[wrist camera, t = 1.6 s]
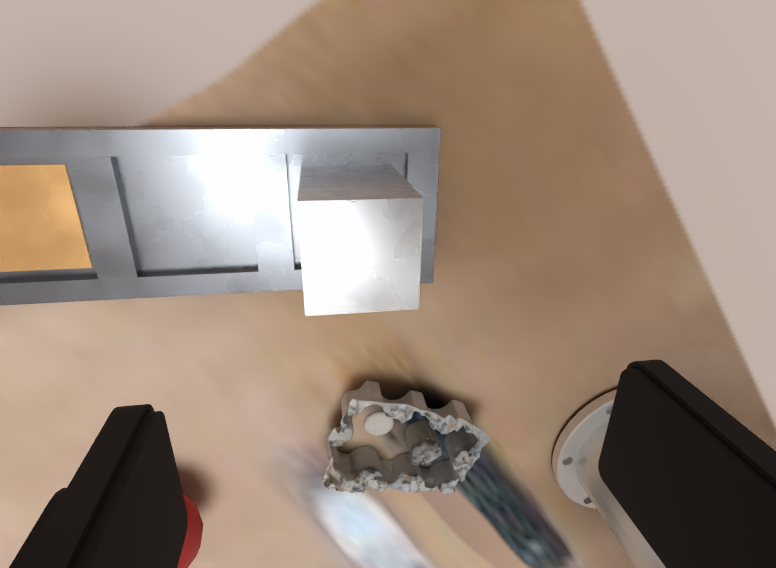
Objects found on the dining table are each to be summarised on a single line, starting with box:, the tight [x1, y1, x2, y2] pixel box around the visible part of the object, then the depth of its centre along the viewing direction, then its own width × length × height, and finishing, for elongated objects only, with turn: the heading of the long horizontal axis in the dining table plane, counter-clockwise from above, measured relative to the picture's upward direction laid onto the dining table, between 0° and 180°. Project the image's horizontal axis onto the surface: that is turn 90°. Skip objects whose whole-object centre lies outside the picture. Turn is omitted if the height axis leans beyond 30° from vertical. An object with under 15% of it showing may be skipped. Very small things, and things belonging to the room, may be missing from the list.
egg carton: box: [323, 381, 491, 494], centre depth 33 cm, size 11×8×4 cm
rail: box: [0, 125, 441, 305], centre depth 26 cm, size 27×9×2 cm, turn 89°
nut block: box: [297, 165, 423, 316], centre depth 23 cm, size 5×5×8 cm
